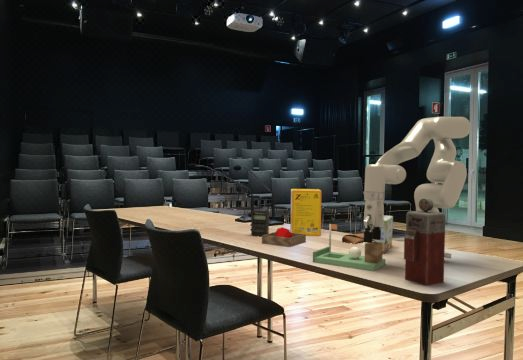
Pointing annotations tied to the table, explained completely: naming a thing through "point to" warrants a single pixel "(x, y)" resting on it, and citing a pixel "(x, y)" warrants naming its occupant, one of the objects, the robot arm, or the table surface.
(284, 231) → the gemstone
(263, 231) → the geiger counter
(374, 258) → the block
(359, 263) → the green
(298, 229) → the packaging box
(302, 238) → the display frame
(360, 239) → the sunglasses case
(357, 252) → the ball
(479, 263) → the table surface
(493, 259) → the table surface
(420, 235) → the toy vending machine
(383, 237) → the snack box
